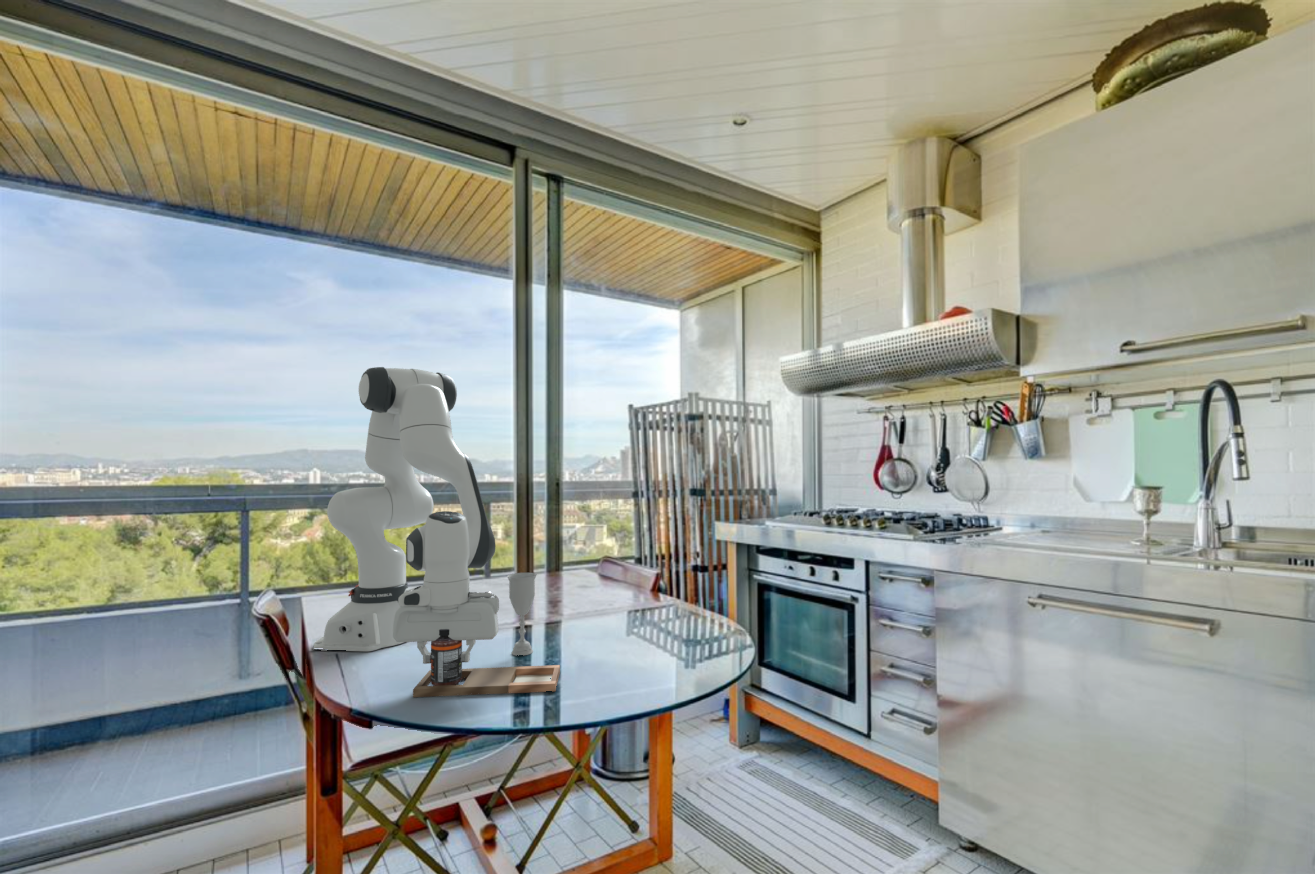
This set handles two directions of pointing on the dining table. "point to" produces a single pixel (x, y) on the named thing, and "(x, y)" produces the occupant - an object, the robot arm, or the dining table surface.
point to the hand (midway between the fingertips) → (446, 662)
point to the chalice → (522, 605)
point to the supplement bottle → (446, 660)
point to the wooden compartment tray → (495, 681)
